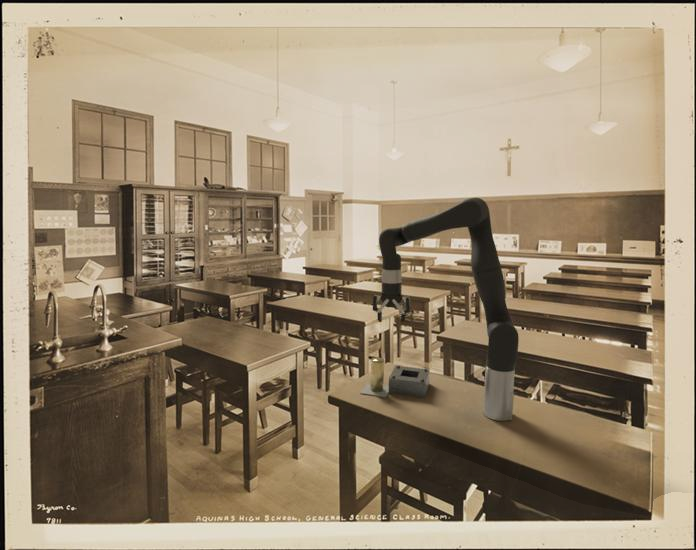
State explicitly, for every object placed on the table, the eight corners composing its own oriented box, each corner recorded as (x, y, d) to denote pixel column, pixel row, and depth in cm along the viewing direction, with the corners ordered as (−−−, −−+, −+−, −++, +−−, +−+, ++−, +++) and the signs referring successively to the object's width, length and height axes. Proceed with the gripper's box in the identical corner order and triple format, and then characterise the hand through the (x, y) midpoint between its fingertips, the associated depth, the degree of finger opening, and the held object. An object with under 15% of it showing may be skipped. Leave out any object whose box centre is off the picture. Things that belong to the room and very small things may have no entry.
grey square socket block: (429, 383, 166) (429, 368, 165) (425, 398, 153) (426, 381, 152) (394, 379, 170) (395, 364, 169) (388, 393, 157) (388, 376, 156)
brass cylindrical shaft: (384, 387, 160) (385, 358, 159) (381, 392, 156) (382, 362, 154) (372, 385, 162) (373, 356, 160) (369, 391, 157) (369, 361, 155)
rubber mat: (391, 386, 162) (391, 385, 162) (386, 397, 153) (386, 396, 153) (367, 383, 165) (367, 382, 165) (360, 393, 156) (360, 392, 156)
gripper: (411, 280, 157) (410, 321, 159) (375, 278, 161) (375, 319, 163) (409, 283, 150) (408, 326, 152) (371, 281, 154) (371, 323, 156)
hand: (391, 322), depth 157 cm, fingers open, 8 cm apart
